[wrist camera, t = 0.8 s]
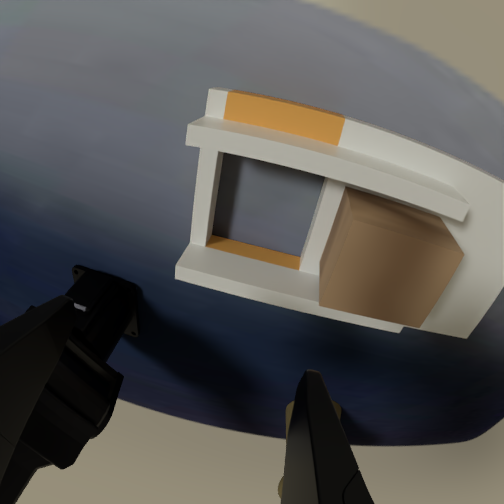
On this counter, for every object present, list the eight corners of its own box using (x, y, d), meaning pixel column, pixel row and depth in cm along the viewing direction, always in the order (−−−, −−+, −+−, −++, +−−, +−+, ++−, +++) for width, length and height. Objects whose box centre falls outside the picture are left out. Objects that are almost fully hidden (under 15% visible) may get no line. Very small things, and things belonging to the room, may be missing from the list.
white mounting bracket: (194, 261, 23) (174, 297, 19) (217, 86, 16) (192, 92, 13) (461, 325, 22) (474, 362, 18) (534, 198, 15) (565, 226, 12)
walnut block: (319, 261, 19) (318, 305, 16) (345, 186, 16) (353, 219, 13) (406, 284, 19) (419, 328, 15) (439, 217, 16) (464, 254, 13)
